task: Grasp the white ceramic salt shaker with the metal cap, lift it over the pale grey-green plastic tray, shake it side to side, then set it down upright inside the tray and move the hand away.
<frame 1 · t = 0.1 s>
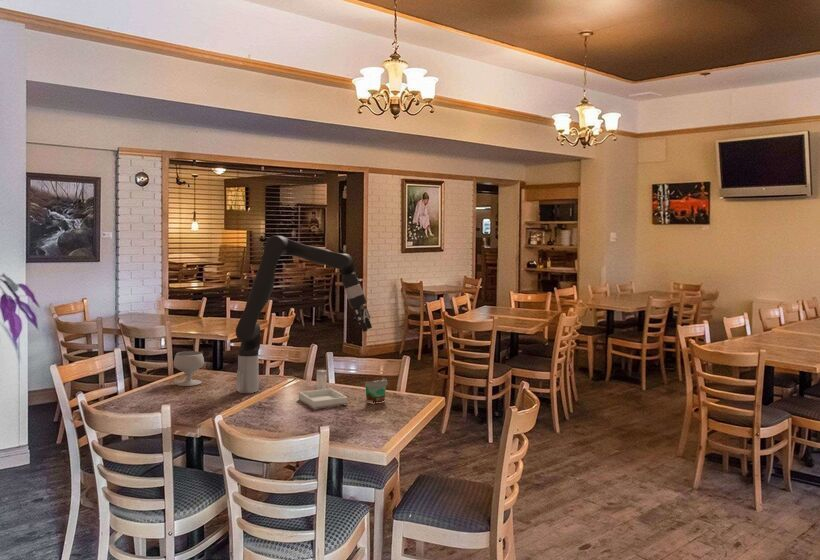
hand: (367, 329, 289), 31 cm above the table, tool tilted 20°, fingers open, 8 cm apart
tray: (322, 402, 283), on the table
salt shaker: (321, 391, 302), on the table
chalice: (189, 384, 312), on the table
food container: (378, 403, 285), on the table
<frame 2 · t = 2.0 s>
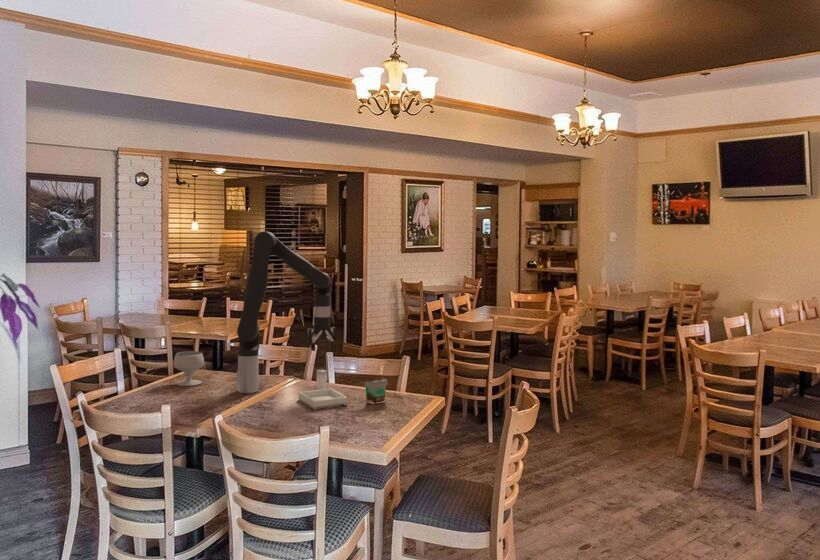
hand: (321, 350, 300), 20 cm above the table, tool pointing down, fingers open, 8 cm apart
nothing on the table moved.
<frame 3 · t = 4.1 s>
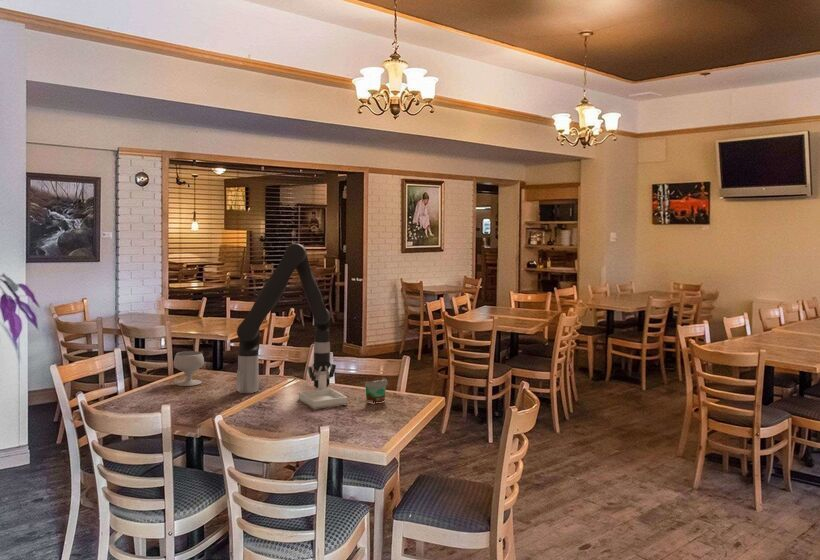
hand: (321, 386, 302), 2 cm above the table, tool pointing down, fingers closed on salt shaker, 4 cm apart
salt shaker: (321, 391, 302), on the table, touching gripper
everything else where it was.
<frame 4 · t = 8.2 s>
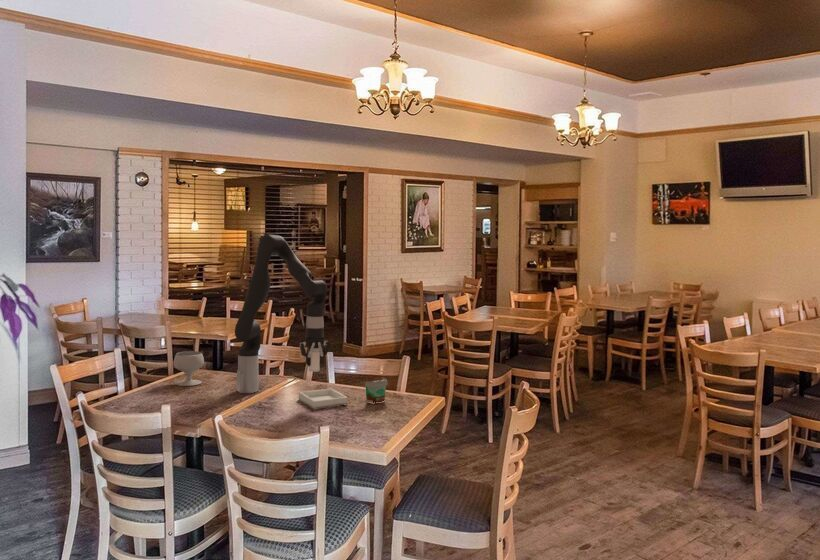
hand: (314, 365, 280), 17 cm above the table, tool pointing down, fingers closed on salt shaker, 4 cm apart
salt shaker: (314, 370, 280), point 15 cm above the table, touching gripper
everything else where it was.
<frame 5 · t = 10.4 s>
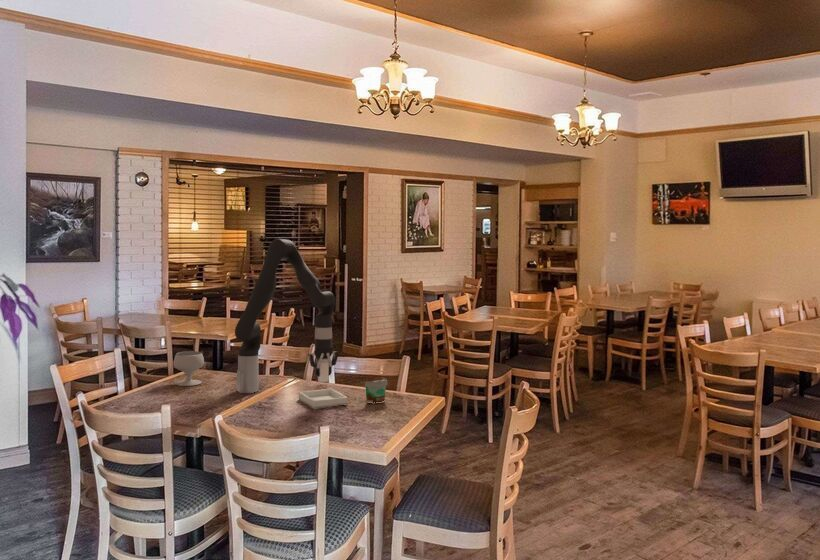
hand: (323, 375, 282), 12 cm above the table, tool pointing down, fingers closed on salt shaker, 4 cm apart
salt shaker: (323, 380, 282), point 10 cm above the table, touching gripper
everything else where it was.
when the fingers open (5 cm above the table, at t = 12.1 s): salt shaker drops 1 cm, resting on tray.
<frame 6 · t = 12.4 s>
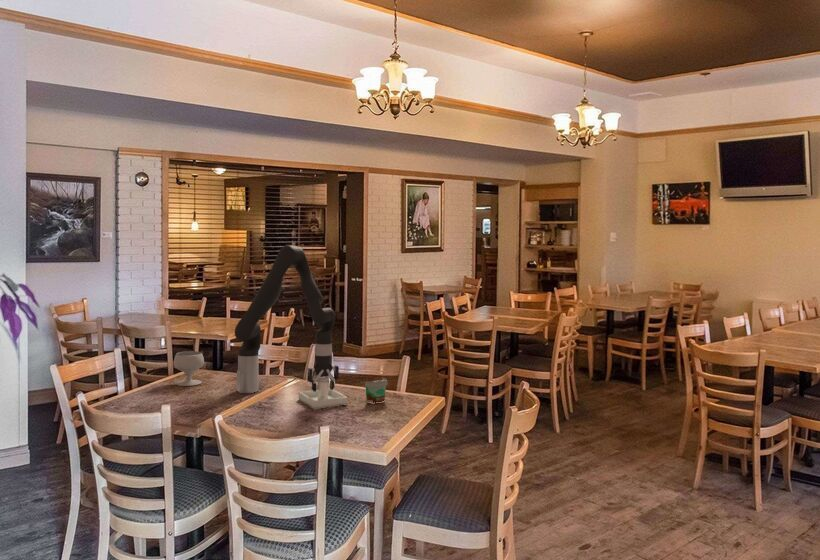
hand: (323, 390, 282), 5 cm above the table, tool pointing down, fingers open, 7 cm apart
salt shaker: (322, 400, 283), point 1 cm above the table, touching tray
everything else where it was.
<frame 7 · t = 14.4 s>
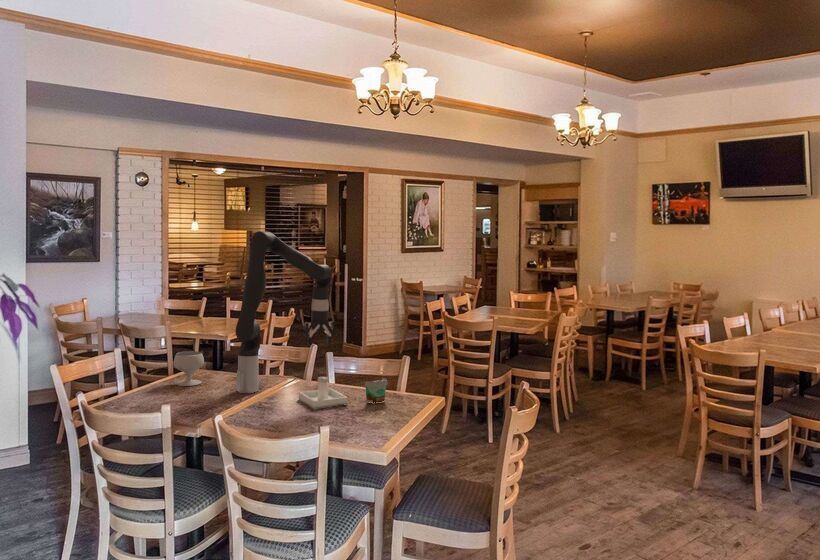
hand: (319, 344, 289), 24 cm above the table, tool pointing down, fingers open, 8 cm apart
nothing on the table moved.
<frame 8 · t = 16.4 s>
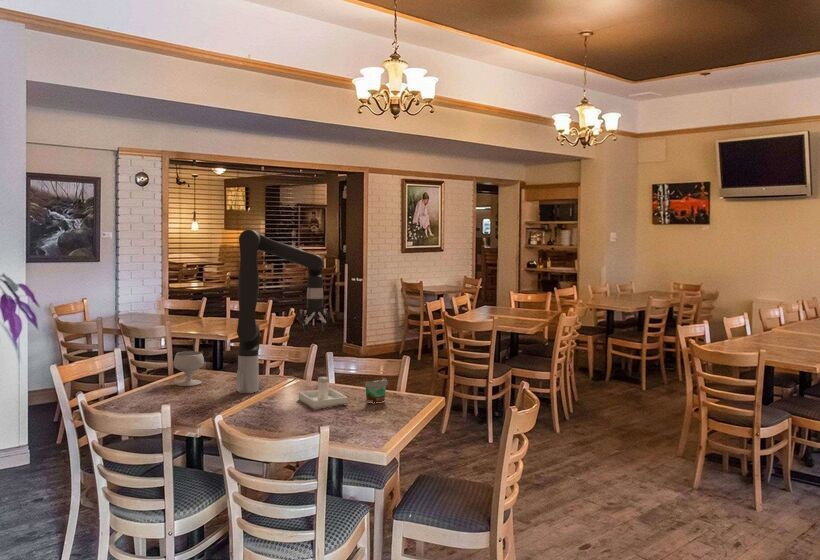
hand: (314, 331, 302), 28 cm above the table, tool pointing down, fingers open, 8 cm apart
nothing on the table moved.
at the end: salt shaker inside the target area on the tray (0.1 cm from its centre), point 1.0 cm above the tray's base; salt shaker tilted 1°; the gripper is holding nothing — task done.
